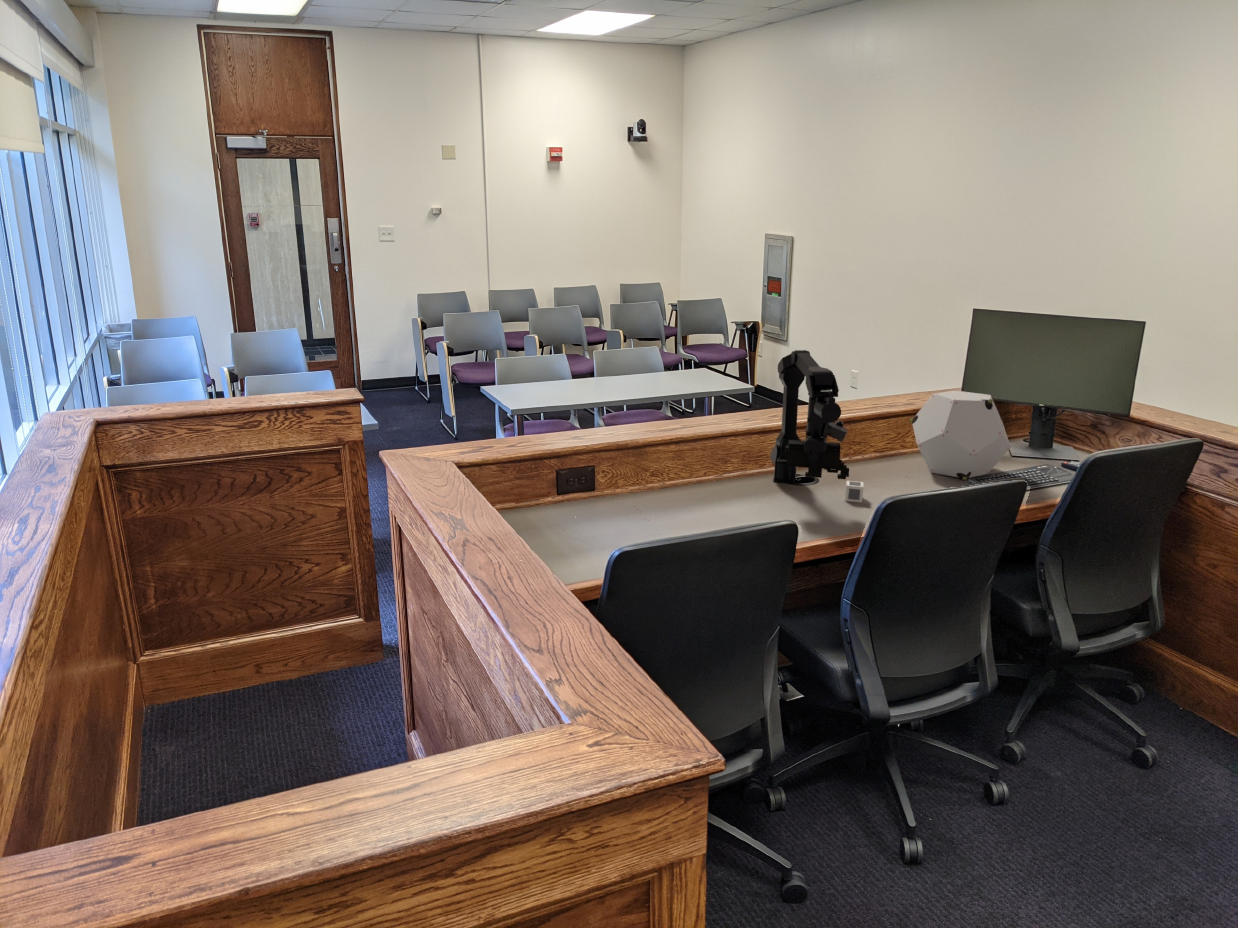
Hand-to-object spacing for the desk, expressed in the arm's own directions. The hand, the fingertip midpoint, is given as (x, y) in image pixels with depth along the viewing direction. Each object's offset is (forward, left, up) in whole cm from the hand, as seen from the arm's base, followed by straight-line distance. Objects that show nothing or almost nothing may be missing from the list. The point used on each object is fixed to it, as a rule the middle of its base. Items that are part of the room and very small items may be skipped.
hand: (814, 465), depth 256 cm
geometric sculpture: (+45, +50, -13) cm, 69 cm away
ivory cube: (+12, +11, -13) cm, 21 cm away
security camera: (+1, 0, -3) cm, 3 cm away
